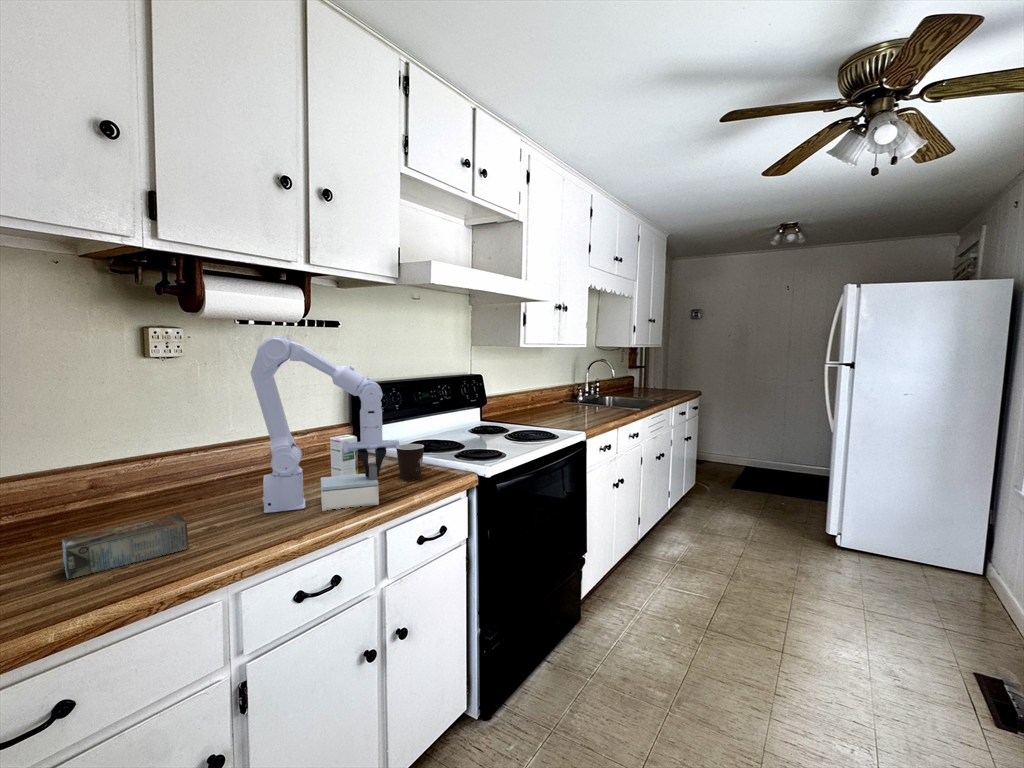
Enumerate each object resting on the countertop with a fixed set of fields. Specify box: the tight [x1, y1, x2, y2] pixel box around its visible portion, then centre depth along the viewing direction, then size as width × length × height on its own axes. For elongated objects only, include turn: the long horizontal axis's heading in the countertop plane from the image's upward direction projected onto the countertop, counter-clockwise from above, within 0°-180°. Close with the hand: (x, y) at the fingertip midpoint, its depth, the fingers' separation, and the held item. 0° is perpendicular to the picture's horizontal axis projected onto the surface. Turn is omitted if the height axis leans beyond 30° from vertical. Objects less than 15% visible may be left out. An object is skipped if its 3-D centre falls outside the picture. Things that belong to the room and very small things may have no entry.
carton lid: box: [320, 462, 379, 491], centre depth 131 cm, size 14×10×4 cm
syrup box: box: [329, 434, 359, 477], centre depth 148 cm, size 6×6×14 cm
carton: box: [320, 484, 380, 512], centre depth 131 cm, size 14×10×5 cm
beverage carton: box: [61, 513, 189, 580], centre depth 97 cm, size 8×19×7 cm, turn 136°
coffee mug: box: [395, 443, 425, 481], centre depth 157 cm, size 12×9×10 cm
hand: (372, 475), depth 133 cm, fingers closed on carton lid, 2 cm apart
